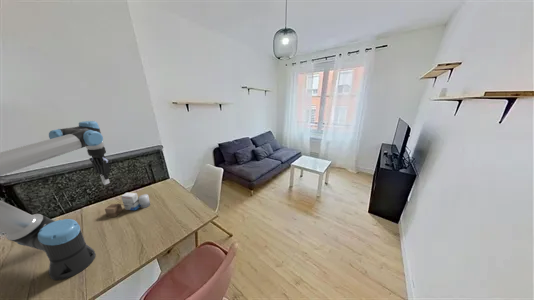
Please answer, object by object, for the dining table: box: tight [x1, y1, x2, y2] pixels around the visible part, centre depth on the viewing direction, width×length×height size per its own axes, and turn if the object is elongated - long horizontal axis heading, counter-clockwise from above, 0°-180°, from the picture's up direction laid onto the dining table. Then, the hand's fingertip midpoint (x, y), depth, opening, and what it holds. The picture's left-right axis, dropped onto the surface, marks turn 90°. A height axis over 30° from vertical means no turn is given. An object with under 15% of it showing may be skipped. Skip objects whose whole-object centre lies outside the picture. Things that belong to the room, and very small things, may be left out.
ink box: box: [120, 192, 141, 211], centre depth 123 cm, size 9×5×12 cm, turn 84°
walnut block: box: [104, 203, 123, 218], centre depth 118 cm, size 6×6×6 cm
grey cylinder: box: [138, 193, 151, 209], centre depth 127 cm, size 6×6×8 cm
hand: (106, 183), depth 107 cm, fingers closed
